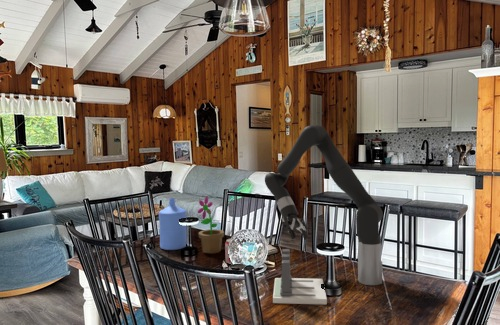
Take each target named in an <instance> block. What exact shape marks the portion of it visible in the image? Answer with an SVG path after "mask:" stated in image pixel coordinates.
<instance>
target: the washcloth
mask: <svg viewBox="0 0 500 325" xmlns="http://www.w3.org/2000/svg"><path fill="white" fill-rule="evenodd" d="M267 245H268V255H267V256H269V255H270V256H271V255H273V254H276V253H278V249H277V247H274V246H272V244H267Z"/></svg>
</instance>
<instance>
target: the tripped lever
mask: <svg viewBox="0 0 500 325" xmlns="http://www.w3.org/2000/svg"><path fill="white" fill-rule="evenodd" d="M281 250H282V252H281V255H282V254H290V255H291V253H290V252H291V251H290V249H289V248H282V249H281ZM280 278H281V281H282V274H281V276H280ZM292 278H293V276H292V275H291V274H290V281H292Z"/></svg>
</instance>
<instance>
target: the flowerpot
mask: <svg viewBox="0 0 500 325" xmlns="http://www.w3.org/2000/svg"><path fill="white" fill-rule="evenodd" d="M198 203H199V205H200V206H201V207H200V208H199V209H198V210H197V213H198V214H202V215H201V216H202V217H201V218H202V219H203V220H201V222H200V224H203V225H208V224H209V225H210V229H205V230H201V231H199V232H198V238H199V239H200V241H201V248H202V253H205V254H216V253H220V252H221V251H222V242H223V238H224V236H225V231H224V230H223V229H214V228H216V227H217V226H218V224H217V223H213V222H212V221H213V220H212V210H211V209H210V207H212V206H213V202H212V201H211V202H209V197H208V196H205V198H204V201H203V200H201V199H200V200H199V201H198ZM207 215H208V218H207Z"/></svg>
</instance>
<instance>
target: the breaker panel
mask: <svg viewBox="0 0 500 325" xmlns="http://www.w3.org/2000/svg"><path fill="white" fill-rule="evenodd" d="M281 282H282V281H281V277H275V278H274V283H273V293H272V304H289V305H290V304H291V305H294V304H296V305H297V304H301V305H327V304H328V298H327V294H326V290H324V289H325V288H324V289H322V288H321V284H324V280H323V278H307V277H306V278H300V277H299V278H298V277H296V278H295V277H292V281H290V282H292V288H290V289H292V296H283V295H280V290H281V289H282V288H281Z"/></svg>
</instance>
